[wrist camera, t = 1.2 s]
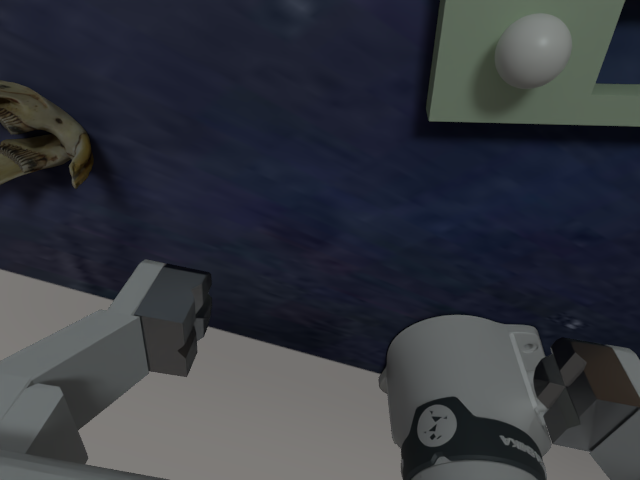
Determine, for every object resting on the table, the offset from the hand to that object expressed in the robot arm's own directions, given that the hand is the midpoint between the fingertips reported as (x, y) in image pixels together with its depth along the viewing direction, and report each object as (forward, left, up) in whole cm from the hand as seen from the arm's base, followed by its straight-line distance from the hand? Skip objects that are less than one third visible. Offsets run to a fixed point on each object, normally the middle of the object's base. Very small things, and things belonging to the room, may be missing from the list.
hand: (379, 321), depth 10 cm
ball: (-4, -8, -20) cm, 22 cm away
